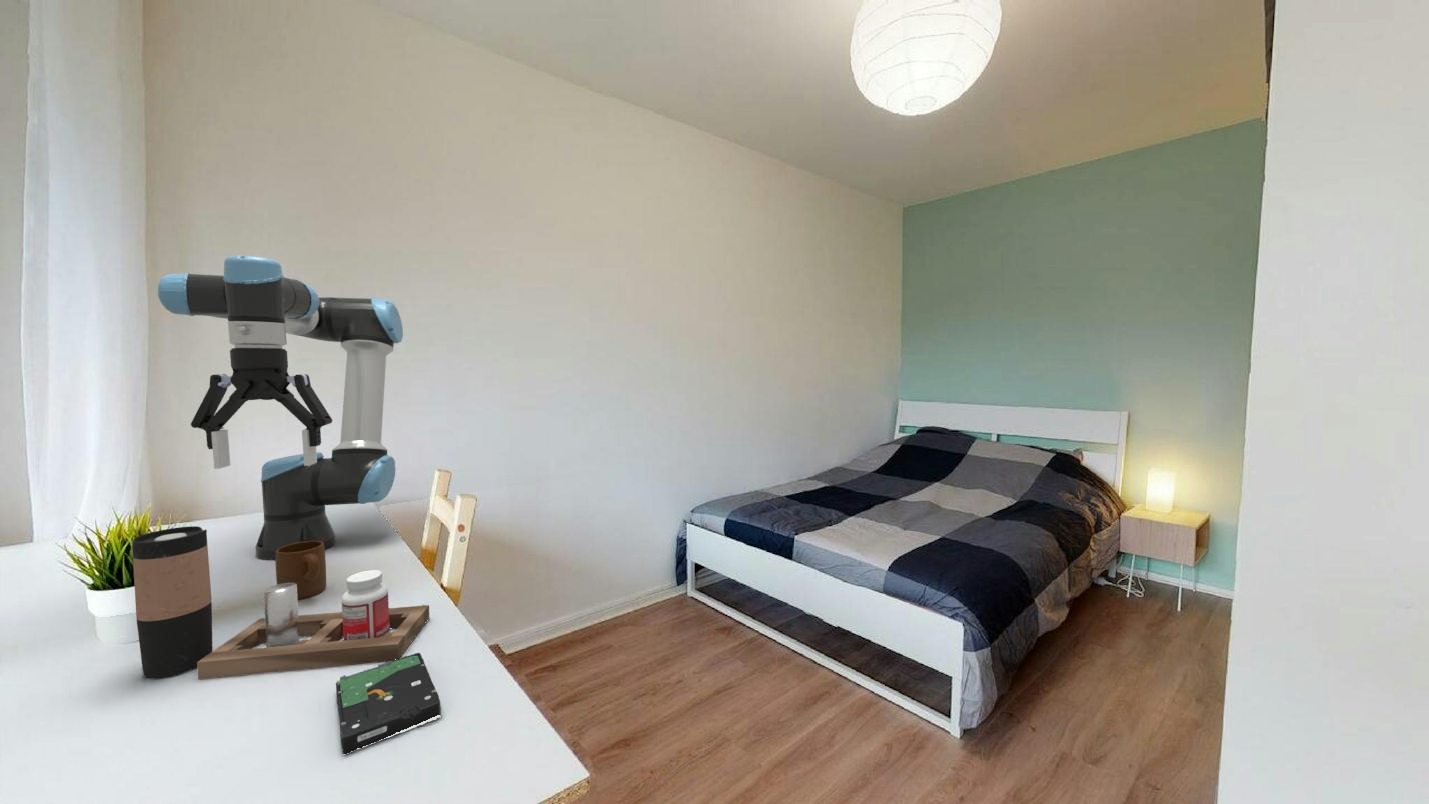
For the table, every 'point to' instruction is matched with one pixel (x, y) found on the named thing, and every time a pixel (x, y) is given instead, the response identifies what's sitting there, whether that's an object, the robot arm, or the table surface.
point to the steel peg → (281, 615)
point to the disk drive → (384, 701)
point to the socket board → (312, 645)
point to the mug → (302, 567)
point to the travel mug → (172, 600)
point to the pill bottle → (365, 606)
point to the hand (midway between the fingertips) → (267, 465)
